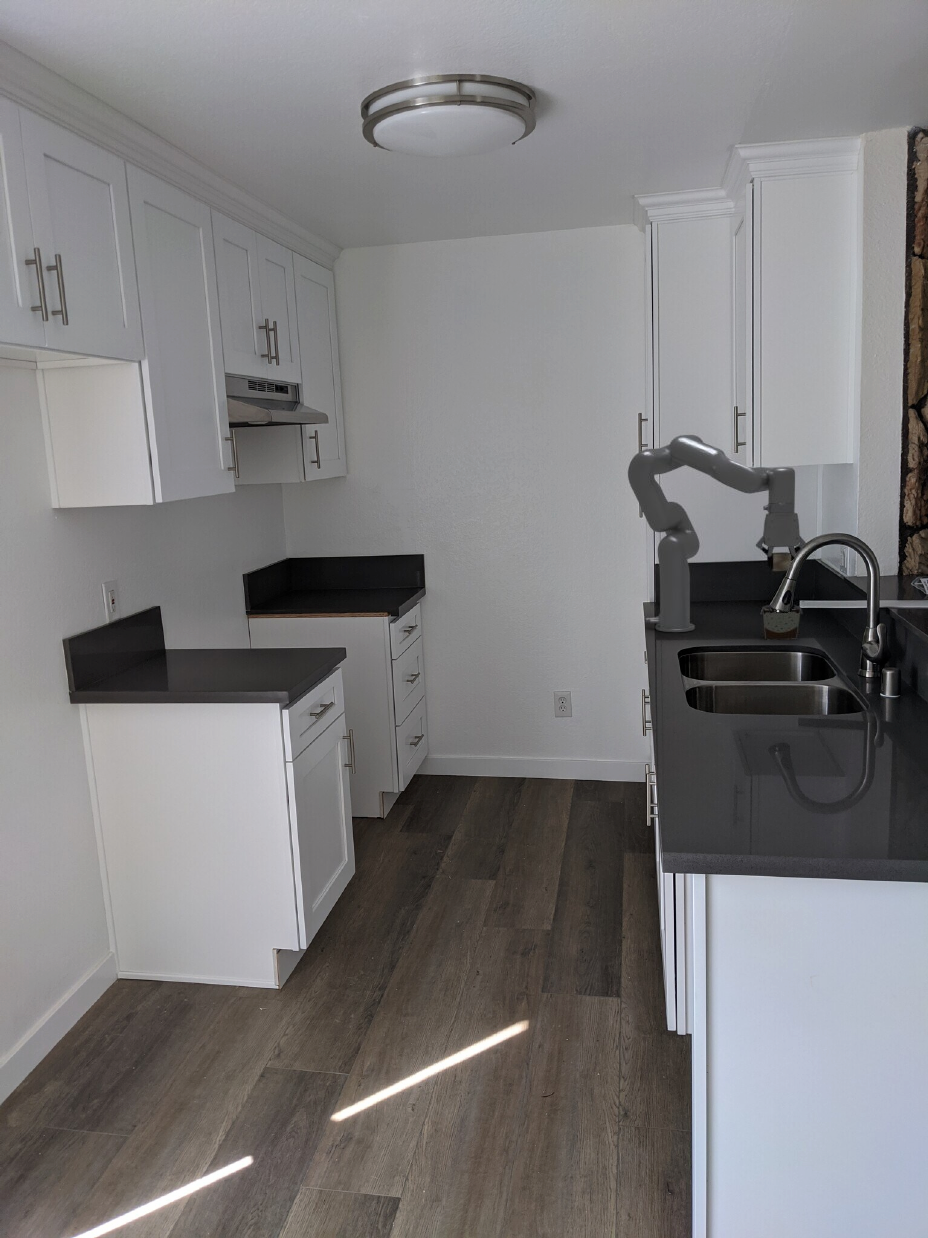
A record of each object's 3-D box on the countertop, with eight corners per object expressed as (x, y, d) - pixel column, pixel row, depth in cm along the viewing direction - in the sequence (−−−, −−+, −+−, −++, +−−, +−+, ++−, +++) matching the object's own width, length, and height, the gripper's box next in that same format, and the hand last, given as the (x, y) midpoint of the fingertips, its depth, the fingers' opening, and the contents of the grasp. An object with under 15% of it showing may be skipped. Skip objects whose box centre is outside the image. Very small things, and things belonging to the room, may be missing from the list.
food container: (796, 635, 291) (797, 603, 289) (801, 639, 285) (802, 607, 283) (756, 636, 293) (756, 604, 291) (760, 640, 287) (760, 608, 285)
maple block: (773, 571, 283) (773, 554, 282) (770, 568, 288) (770, 552, 287) (790, 570, 282) (791, 554, 281) (787, 568, 287) (787, 552, 286)
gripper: (754, 510, 279) (753, 571, 282) (813, 508, 277) (812, 569, 280) (750, 509, 286) (749, 567, 290) (807, 506, 284) (806, 566, 287)
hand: (780, 568), depth 285 cm, fingers closed on maple block, 5 cm apart
